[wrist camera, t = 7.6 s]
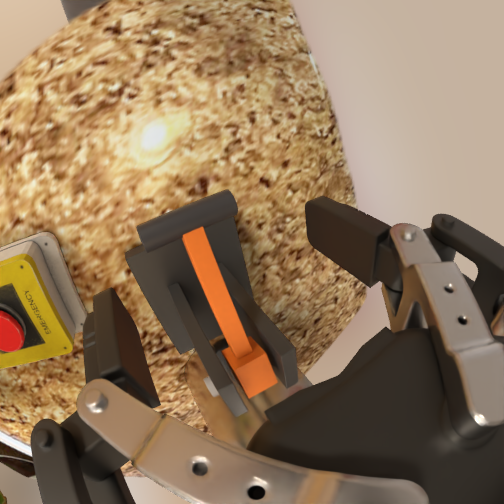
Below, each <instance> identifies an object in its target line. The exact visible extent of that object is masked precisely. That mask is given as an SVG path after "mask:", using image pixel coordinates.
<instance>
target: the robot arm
mask: <svg viewBox="0 0 504 504" xmlns="http://www.w3.org/2000/svg"><path fill="white" fill-rule="evenodd" d="M305 214H306V227H307V237H308V240H309V242H310V244H311V245H312V246H313V247H314V248H315V249H316V250H318V251H319V252H321V253H322V254H324V255H325V256H326V257H328V258H329V259H331V260H332V261H333V262H335V263H336V264H338V265H339V266H341V267H342V268H343V269H345V270H346V271H348V272H349V273H350V274H352V275H353V276H355V277H356V278H357V279H359V280H360V281H361V282H363V283H364V284H366V285H367V286H368V287H370V288H371V287H372V286H373V285H375V284H376V283H377V282H379V281H381V282H382V288H381V289H382V293H383V297H384V301H385V305H386V309H387V312H388V317H389V320H390V327H391V330H389V329H388V328H387V327H385V328H383V329H382V330H381V331H380V332H379V333H378V334H376V335H375V336H374V337H373V338H371V339H370V340H369V341H368V342H367V343H365V344H364V345H363V346H362V347H361V348H360V349H359V351H358V352H357V353H356V355H355V356H354V357H353V359H352V360H351V361H350V363H349V364H348V365H347V366H346V368H345V369H344V370H343V371H342V372H341V373H340V374H339V375H338V376H336V377H333V378H331V379H329V380H326V381H324V382H321V383H318V384H316V385H313V386H310V387H307V388H305V389H302V390H299V391H297V392H296V393H294V394H293V395H291V396H289V397H288V398H286V399H284V400H283V401H281V402H279V403H278V404H276V405H274V406H272V407H271V408H269V409H267V410H265V411H264V413H265V415H266V418H267V421H266V422H265V423H264V424H263V425H262V426H261V427H260V428H259V429H258V430H257V431H256V433H255V434H254V435H253V437H252V438H251V440H250V442H249V444H248V446H247V448H246V449H243V448H240V447H238V446H235V445H232V444H230V443H227V442H225V441H223V440H220V439H218V438H216V437H213V436H211V435H209V434H206V433H204V432H202V431H200V430H198V429H196V428H194V427H191V426H189V425H187V424H185V423H183V422H181V421H179V420H178V419H176V418H174V417H172V416H169V415H167V414H164V415H163V414H160V413H159V412H157V411H155V410H153V408H155V407H157V406H160V405H161V403H160V401H159V398H158V395H157V392H156V389H155V386H154V383H153V380H152V377H151V374H150V371H149V368H148V365H147V361H146V358H145V354H144V351H143V347H142V344H141V340H140V336H139V333H138V330H137V327H136V325H135V323H134V321H133V319H132V317H131V316H130V314H129V313H128V311H127V310H126V308H125V306H124V305H123V303H122V302H121V300H120V299H119V297H118V295H117V294H116V292H115V291H114V289H113V288H109V289H107V290H105V291H102V292H100V293H98V294H96V295H94V296H93V309H94V312H92V313H90V314H87V317H86V319H85V322H84V325H83V339H84V340H83V348H84V365H85V377H86V385H85V386H84V387H83V388H82V390H81V391H80V393H79V395H78V398H77V411H76V412H75V413H73V414H72V415H71V416H70V417H68V418H67V419H66V420H65V421H63V422H62V423H61V424H58V423H56V422H55V421H53V420H51V419H43V420H41V421H39V422H38V423H37V424H36V425H35V427H34V429H33V431H32V434H31V449H32V456H33V462H34V468H35V473H36V478H37V482H38V486H39V490H40V494H41V498H42V502H43V504H136V503H135V501H134V499H133V497H132V495H131V493H130V490H129V488H128V486H127V483H126V481H125V479H124V476H123V474H122V471H121V469H120V467H122V466H123V465H124V464H125V463H127V462H128V461H129V460H131V461H132V463H131V464H132V465H133V466H134V467H135V468H136V469H137V470H138V471H140V472H141V473H142V474H144V475H145V476H147V477H148V478H150V479H151V480H153V481H154V482H156V483H158V484H159V485H161V486H162V487H164V488H166V489H167V490H169V491H170V492H172V493H174V494H175V495H177V496H179V497H181V498H183V499H184V500H186V501H188V502H190V503H192V504H504V247H503V246H502V245H500V244H499V243H497V242H496V241H494V240H493V239H491V238H489V237H488V236H486V235H485V234H483V233H481V232H479V231H478V230H476V229H474V228H473V227H471V226H469V225H467V224H466V223H464V222H462V221H460V220H459V219H457V218H455V217H453V216H451V215H447V214H437V215H435V216H433V219H432V224H431V227H430V228H427V229H423V230H422V229H421V228H419V227H417V226H415V225H412V224H408V223H400V224H396V225H394V226H393V227H391V226H389V225H388V224H386V223H384V222H382V221H380V220H378V219H376V218H374V217H372V216H370V215H368V214H367V215H366V214H365V213H364V212H362V211H360V210H359V211H358V209H355V208H353V207H351V206H349V205H346V204H341V203H338V202H336V201H334V200H332V199H330V198H327V197H325V196H320V197H318V198H315V199H313V200H310V201H308V202H307V203H306V204H305ZM456 251H457V252H459V253H460V254H462V255H463V256H465V257H467V258H468V259H469V260H471V261H473V262H474V263H475V264H476V266H477V268H478V275H477V278H476V280H475V282H474V281H473V280H471V279H470V278H468V277H467V276H466V275H464V274H463V273H461V271H460V269H459V268H458V266H457V264H456V263H455V262H454V261H453V260H454V257H455V254H456Z"/></svg>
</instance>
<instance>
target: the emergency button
mask: <svg viewBox="0 0 504 504" xmlns="http://www.w3.org/2000/svg"><path fill="white" fill-rule="evenodd" d="M86 317H87V312H86V310H85V308H84V306H83V304H82V302H81V299H80V297H79V295H78V293H77V290H76V288H75V286H74V283H73V281H72V279H71V276H70V274H69V271H68V268H67V266H66V263H65V260H64V258H63V255H62V252H61V249H60V246H59V243H58V240H57V239H56V237H55V236H54V235H53V234H51V233H49V232H41V233H39V234H36V235H33V236H30V237H27V238H24V239H22V240H19V241H16V242H14V243H11V244H8V245H6V246H3V247H1V248H0V370H1V369H5V368H10V367H15V366H19V365H24V364H28V363H32V362H36V361H41V360H45V359H49V358H53V357H57V356H61V355H65V354H68V353H70V352H72V349H73V345H74V335H75V333H79V332H82V331H83V325H84V322H85V319H86Z"/></svg>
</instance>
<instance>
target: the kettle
mask: <svg viewBox="0 0 504 504" xmlns="http://www.w3.org/2000/svg"><path fill="white" fill-rule="evenodd" d="M209 342H210V344H211V346H212V348H213V349H214V351H215V353H216V355H217V356H218V358H219V360H220V361H221V363H222V365H223V367H224V368H225V370H226V372H227V373H228V375H229V377H230V378H231V380H232V382H233V383H234V385H235V387H236V389H237V391H238V393H239V394H240V396H241V398H242V400H243V402H244V404H245V405H246V407H247V409H248V411H247V412H245V413H244V414H242V415H240V416H238V417H235V416H234V415H233V413H232V412H231V411H230V409H229V408H228V406H227V405H226V403H225V402H224V401H223V399H222V398H221V396H220V395H218V396H216V397H213V396H212V394H211V393H210V391H209V390H208V388H207V386H206V384H205V382H204V378H206V377H208V376H209V375H208V373H207V371H206V369H205V368H204V366H203V364H202V362H201V360H200V358H199V356H198V354H197V352H196V351H195V352H194V353H193V354H192V356H191V357H190V359H189V360H188V362H187V365H186V368H185V379H186V382H187V384H188V386H189V389H190V391H191V393H192V395H193V397H194V399H195V402H196V404H197V406H198V408H199V410H200V412H201V414H202V416H203V418H204V420H205V422H206V424H207V426H208V428H209V430H210V432H211V434H212V435H213V437H216V438H218V439H220V440H223V441H225V442H227V443H230V444H232V445H235V446H238V447H240V448H243V449H246V448H247V446H248V444H249V442H250V440H251V438H252V437H253V435H254V434H255V433H256V431H257V430H258V429H259V428H260V427H261V426H262V425H263V424H264V423H265V422H266V421H267V418H266V415H265V413H264V411H265V410H267V409H269V408H271V407H272V406H274V405H276V404H278V403H279V402H281V401H283V400H284V399H286V398H288V397H289V396H291V395H293V394H294V393H296V392H297V391H299V390H302V389H305V388H307V387H310V386H313V385H312V383H311V382H310V381H309V380H308V379H307V377H306V376H305V375H304V374H303V373H302V372H301V371H300V369H299V368H298V367H297V369H298V380H299V382H298V383H296V384H295V385H293V386H291V387H290V388H288V389H286V387H285V386H284V385H283V384H282V382H281V381H280V380H279V378H278V377H277V376H276V374H275V373H274V374H275V376H276V378H277V381H278V383H276V384H274V385H273V386H271V387H269V388H267V389H266V390H264V391H262V392H260V393H258V394H257V395H255V396H253V397H251V398H248V397H247V395H246V394H245V392H244V391H243V389H242V388H241V386H240V385H239V383H238V382H237V380H236V379H235V377H234V375H233V373H232V371H231V370H230V368H229V366H228V364H227V362H226V360H225V358H224V356H223V354H222V352H221V351H222V350H224V349H226V348H228V347H229V345H228V343H227V341H226V339H225V337H224V335H223V334H222V335H220V336H218V337H216V338H214V339H212V340H210V341H209Z"/></svg>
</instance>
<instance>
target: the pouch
mask: <svg viewBox="0 0 504 504" xmlns="http://www.w3.org/2000/svg"><path fill="white" fill-rule="evenodd" d="M0 504H7V498H6V497H5V496H3V494H2V493H1V491H0Z"/></svg>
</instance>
